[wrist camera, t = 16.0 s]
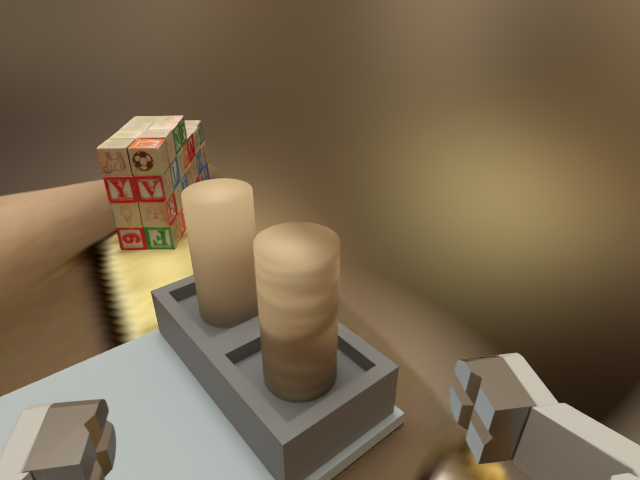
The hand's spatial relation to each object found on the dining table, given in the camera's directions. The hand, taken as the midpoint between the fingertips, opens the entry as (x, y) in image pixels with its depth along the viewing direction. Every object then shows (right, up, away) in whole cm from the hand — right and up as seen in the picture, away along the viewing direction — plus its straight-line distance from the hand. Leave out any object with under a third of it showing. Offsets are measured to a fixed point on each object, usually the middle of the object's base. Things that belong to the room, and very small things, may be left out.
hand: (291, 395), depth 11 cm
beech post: (-1, -5, +20) cm, 20 cm away
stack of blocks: (-19, +7, +51) cm, 55 cm away
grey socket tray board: (-9, -9, +21) cm, 24 cm away
